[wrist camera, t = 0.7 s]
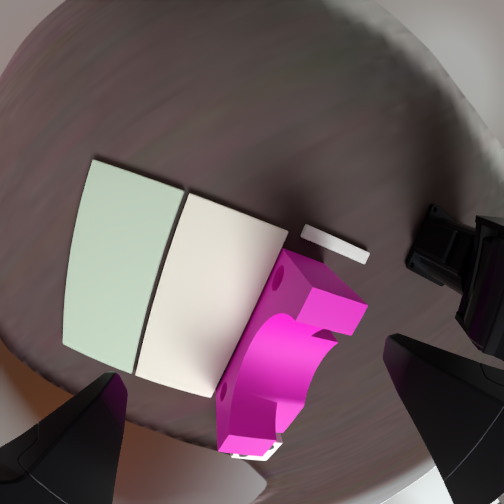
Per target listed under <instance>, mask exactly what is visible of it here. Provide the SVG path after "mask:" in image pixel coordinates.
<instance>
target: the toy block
mask: <svg viewBox="0 0 504 504" xmlns="http://www.w3.org/2000/svg"><path fill="white" fill-rule="evenodd" d="M367 307H368V305H367V304H366V303H365V302H364V301H363V300H362V299H361V298H360V297H359V296H358V295H357V294H356V293H355V292H354V291H353V290H352V289H351V288H350V287H348V286H347V285H346V284H345V283H344V282H343V281H342V280H341V279H340V278H339V277H338V276H337V275H336V274H335V273H334V272H332V271H331V270H330V269H329V268H328V267H327V266H326V265H325V264H324V263H321V262H318V261H316V260H313V259H311V258H308V257H305V256H303V255H300V254H297V253H295V252H292V251H289V250H287V249H284V248H281V250H280V252H279V255H278V257H277V259H276V261H275V264H274V266H273V268H272V270H271V272H270V275H269V277H268V279H267V281H266V284H265V286H264V288H263V290H262V293H261V295H260V297H259V299H258V301H257V304H256V306H255V308H254V310H253V312H252V315H251V317H250V319H249V321H248V323H247V326H246V328H245V330H244V332H243V334H242V336H241V339H240V341H239V343H238V345H237V347H236V349H235V351H234V354H233V356H232V358H231V360H230V362H229V364H228V366H227V368H226V371H225V373H224V375H223V377H222V379H221V381H220V383H219V385H218V387H217V389H216V413H217V444H218V451H219V452H226V453H233V454H241V455H251V456H263V455H264V454H265V453H266V452H267V451H268V450H269V449H270V447H271V446H272V445H273V444H274V443H275V442H276V440H277V439H276V432H278V433H283V432H284V431H285V430H286V429H287V427H288V426H289V425H290V424H291V422H292V421H293V420H294V419H295V417H296V416H297V415H298V413H299V412H300V411H301V409H302V408H303V407H304V404H305V399H306V395H307V391H308V388H309V385H310V382H311V380H312V377H313V375H314V373H315V371H316V369H317V367H318V365H319V364H320V362H321V360H322V359H323V358H324V356H325V355H326V354H327V353H328V351H329V350H330V349H331V348H332V347H333V346H334V345H336V344H337V343H338V341H337V340H336V338H335V337H334V335H333V334H332V332H331V331H335V332H339V333H343V334H347V335H352V334H353V332H354V330H355V328H356V327H357V325H358V323H359V321H360V320H361V318H362V316H363V314H364V313H365V311H366V309H367ZM330 330H331V331H330Z"/></svg>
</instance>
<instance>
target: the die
mask: <svg viewBox="0 0 504 504" xmlns="http://www.w3.org/2000/svg"><path fill="white" fill-rule="evenodd" d="M276 439H277V440H276V442H275V443H274V444H273V445H272V446H271V447H270V449H269V450H268V451H267V452H266V453H265V454H264V455H263V456H251V455H241V454H233V453H231V457H233V458H240V459H250V460H261V461H266V460H267V459H268V458H269V457H270V456H271V455H272V454H273V453H274V452H275V451H276V450H277V449H278V448H279V447H280V445H281V444H282V443H283V442H282V438H281V434H280V433H278V432H276Z"/></svg>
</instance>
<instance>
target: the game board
mask: <svg viewBox="0 0 504 504" xmlns="http://www.w3.org/2000/svg"><path fill="white" fill-rule="evenodd" d="M184 192H185V191H184V190H181V189H178V188H176V187H173V186H170V185H167V184H164V183H162V182H159V181H156V180H153V179H150V178H148V177H145V176H142V175H139V174H136V173H133V172H130V171H127V170H125V169H122V168H119V167H116V166H113V165H110V164H107V163H104V162H101V161H98V160H93V161H92V164H91V167H90V170H89V173H88V177H87V180H86V184H85V187H84V191H83V195H82V199H81V203H80V207H79V211H78V215H77V220H76V225H75V229H74V235H73V240H72V246H71V252H70V258H69V265H68V272H67V281H66V290H65V302H64V319H63V344H64V345H66V346H68V347H70V348H72V349H74V350H76V351H79V352H81V353H83V354H85V355H87V356H89V357H92V358H94V359H96V360H98V361H101V362H103V363H105V364H108V365H110V366H113V367H115V368H118V369H120V370H123V371H125V372H128V373H131V374H132V371H133V366H134V362H135V357H136V352H137V348H138V344H139V339H140V335H141V331H142V327H143V323H144V319H145V315H146V311H147V307H148V304H149V300H150V296H151V293H152V289H153V286H154V282H155V279H156V275H157V272H158V269H159V265H160V262H161V259H162V256H163V252H164V249H165V246H166V243H167V240H168V237H169V234H170V231H171V228H172V225H173V222H174V220H175V217H176V214H177V211H178V208H179V205H180V203H181V200H182V197H183V195H184ZM287 234H288V231H287V230H284V229H282V228H279V227H277V226H274V225H272V224H269V223H267V222H264V221H262V220H259V219H257V218H254V217H252V216H249V215H247V214H244V213H242V212H239V211H237V210H234V209H231V208H229V207H226V206H224V205H221V204H218V203H216V202H213V201H211V200H208V199H205V198H203V197H200V196H197V195H195V194H192V193H189V196H188V198H187V201H186V204H185V206H184V209H183V212H182V215H181V217H180V220H179V223H178V226H177V229H176V232H175V235H174V238H173V241H172V244H171V247H170V250H169V253H168V256H167V259H166V262H165V265H164V268H163V272H162V275H161V278H160V281H159V285H158V288H157V292H156V295H155V299H154V302H153V306H152V309H151V313H150V317H149V320H148V324H147V328H146V332H145V336H144V340H143V344H142V348H141V353H140V357H139V361H138V366H137V370H136V376H139V377H142V378H145V379H147V380H150V381H153V382H156V383H160V384H163V385H166V386H169V387H172V388H176V389H179V390H183V391H186V392H190V393H194V394H197V395H201V396H205V397H209V398H211V396H212V394H213V392H214V390H215V388H216V386H217V384H218V382H219V380H220V378H221V376H222V374H223V372H224V370H225V368H226V366H227V364H228V362H229V360H230V358H231V356H232V353H233V351H234V349H235V347H236V345H237V343H238V341H239V339H240V337H241V335H242V333H243V330H244V328H245V326H246V324H247V322H248V320H249V318H250V316H251V314H252V311H253V309H254V307H255V305H256V303H257V301H258V298H259V296H260V294H261V292H262V290H263V288H264V285H265V283H266V281H267V279H268V277H269V275H270V272H271V270H272V268H273V266H274V264H275V261H276V259H277V257H278V255H279V252H280V250H281V248H282V246H283V243H284V241H285V239H286V237H287ZM300 236H301V237H302V238H304V239H306V240H309V241H311V242H314V243H316V244H318V245H321V246H323V247H325V248H328V249H330V250H333V251H335V252H337V253H340V254H342V255H344V256H346V257H349V258H351V259H353V260H356V261H358V262H360V263H362V264H365V263H366V261H367V259H368V257H369V254H370V253H368V252H367V251H365V250H363V249H360V248H358V247H356V246H354V245H352V244H350V243H348V242H345V241H343V240H341V239H339V238H337V237H334V236H332V235H330V234H328V233H325V232H323V231H321V230H319V229H316V228H314V227H312V226H310V225H307V224H305V226H304V228H303V231H302V233H301V235H300Z"/></svg>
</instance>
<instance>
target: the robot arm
mask: <svg viewBox="0 0 504 504" xmlns="http://www.w3.org/2000/svg"><path fill="white" fill-rule="evenodd" d="M433 209H434V211H433ZM475 222H476V228H474V227H470V226H467V225H464V224H461V223H458V222H457V221H456V220H455V219H453V218H452V217H451V216H450V215H449V214H448V213H446V212H445V211H444V210H443V209H441V208H440V207H439V206H438V205H436V204H431V205H430V206H429V209H428V212H427V214H426V217H425V220H424V222H423V225H422V227H421V230H420V232H419V234H418V237H417V239H416V241H415V244H414V246H413V248H412V251H411V253H410V255H409V257H408V259H407V262H406V268H408V269H409V270H411V271H413V272H415V273H417V274H419V275H421V276H423V277H424V278H426V279H428V280H430V281H432V282H434V283H436V284H438V285H439V286H443V285H444V284H445V285H446V286H448V287H450V288H451V289H453V290H454V291H456V292H458V293H459V294H461V295H462V298H461V302H460V305H459V309H458V311H457V312H456V316H455V319H456V320H457V321H458V323H459V324H460V326H461V327H462V328H463V330H464V331H465V332H466V334H467V335H468V337H469V338H470V340H471V341H472V342H473V344H474V345H475V346H476V347H477V349H478V350H480V351H482V352H483V353H485V354H488V355H492V356H495V357H497V358H499V359H501V360H503V361H504V218H499V217H489V216H479V215H476V220H475ZM411 263H412V264H411ZM410 264H411V266H410ZM383 360H384V363H385V365H386V367H387V370H388V372H389V374H390V376H391V379H392V381H393V383H394V386H395V388H396V390H397V393H398V395H399V397H400V398H401V400H402V402H403V404H404V406H405V407H406V409H407V411H408V413H409V415H410V416H411V418H412V420H413V422H414V424H415V426H416V427H417V429H418V431H419V433H420V435H421V437H422V439H423V441H424V443H425V445H426V446H427V448H428V450H429V452H430V454H431V456H432V458H433V460H434V462H435V464H436V466H437V468H438V470H439V472H440V475H441V477H442V479H443V481H444V483H445V486H446V487H447V490H448V492H449V494H450V496H451V498H452V501H453V503H454V504H490V503H492V502H493V501H495V500H496V499H497V498H498V500H499V501H500V502H499V503H498V504H504V370H501V369H498V368H495V367H491V366H488V365H485V364H482V363H479V362H477V361H474V360H471V359H468V358H465V357H462V356H459V355H456V354H454V353H451V352H448V351H445V350H442V349H440V348H437V347H434V346H431V345H429V344H426V343H423V342H420V341H418V340H415V339H412V338H410V337H407V336H404V335H401V334H399V333H396V334H392V335H389V336H388V337H387V338H386V341H385V347H384V352H383ZM127 396H128V394H127V389H126V387H125V385H124V383H123V381H122V379H121V377H120V375H119V374H118V373H117V372H105V373H104V374H103V375H101V376H100V377H99V378H97V379H96V380H95V381H93V382H92V383H91V384H89V385H88V386H87V387H85V388H84V389H83V390H81V391H80V392H79V393H77V394H76V395H75V396H74V397H72V398H71V399H69V400H68V401H67V402H65V403H64V404H63V405H62V406H60V407H59V408H57V409H56V410H55V411H53V412H52V413H51V414H49V415H48V416H47V417H45V418H44V419H42V420H41V421H40V422H39V424H36V425H34V426H33V427H32V428H30V429H29V430H28V431H26V432H25V433H23V434H22V435H20V436H19V437H17V438H15V439H14V440H12V441H10V442H9V443H7V444H5V445H4V446H2V447H0V504H112V501H113V493H114V486H115V479H116V472H117V467H118V461H119V455H120V450H121V444H122V439H123V434H124V425H125V415H126V405H127Z"/></svg>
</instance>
